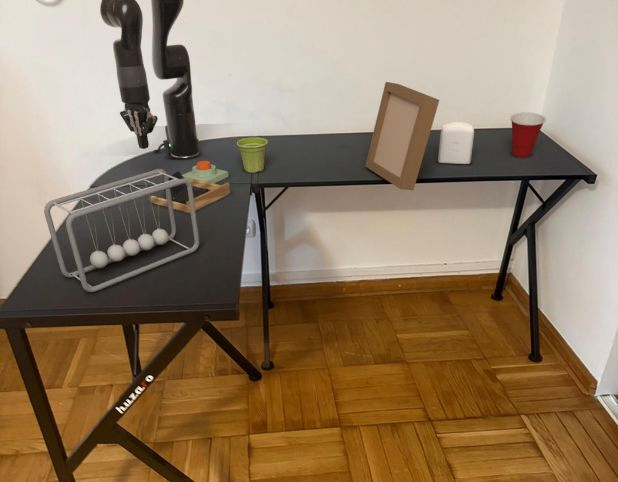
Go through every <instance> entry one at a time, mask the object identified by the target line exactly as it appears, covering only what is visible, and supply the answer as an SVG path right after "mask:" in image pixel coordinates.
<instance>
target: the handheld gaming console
mask: <svg viewBox="0 0 618 482" xmlns="http://www.w3.org/2000/svg"><path fill="white" fill-rule="evenodd" d="M182 175H183V174H182V173H181V172H180V171H179V170H177V171H175V173H172V174H171V176H172V177H175V178H177V179H185V178H184V177H183V176H182ZM168 179H169V181H170V180H174V179H172V178H170V177H168ZM161 183H164V180H163V181H162V182H161ZM192 189H193V197H194V198H196V197H198V196H200V195H202V194H204V193H206V192H208V191H209V190H208V189H205V188H200V187H195V186H192ZM163 191H164V192H165V193H166V191H165V190H163ZM170 192H171V198H172V201H174V202H178V203H182V204H186V202H188V201H189V197H188V190H187V186H186V184H181V185H178V186H175V187H172V188H170Z"/></svg>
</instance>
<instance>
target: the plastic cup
mask: <svg viewBox="0 0 618 482" xmlns="http://www.w3.org/2000/svg"><path fill="white" fill-rule="evenodd" d="M509 119H510V121H511V155H512V156H514V157H517V158H528V157H529V158H530V157H531V155H532V152H533V150H534V147H535V145H536V142H537V140H538V137H539V136H540V135H539V134H540V133H541V130H542V127H543V126H544V123H545V122H546V121H547V118H546V117H545V116H544V115H543V114H540V113H537V112H524V111H523V112H516V113H514V114H511V116H510V118H509Z"/></svg>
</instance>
